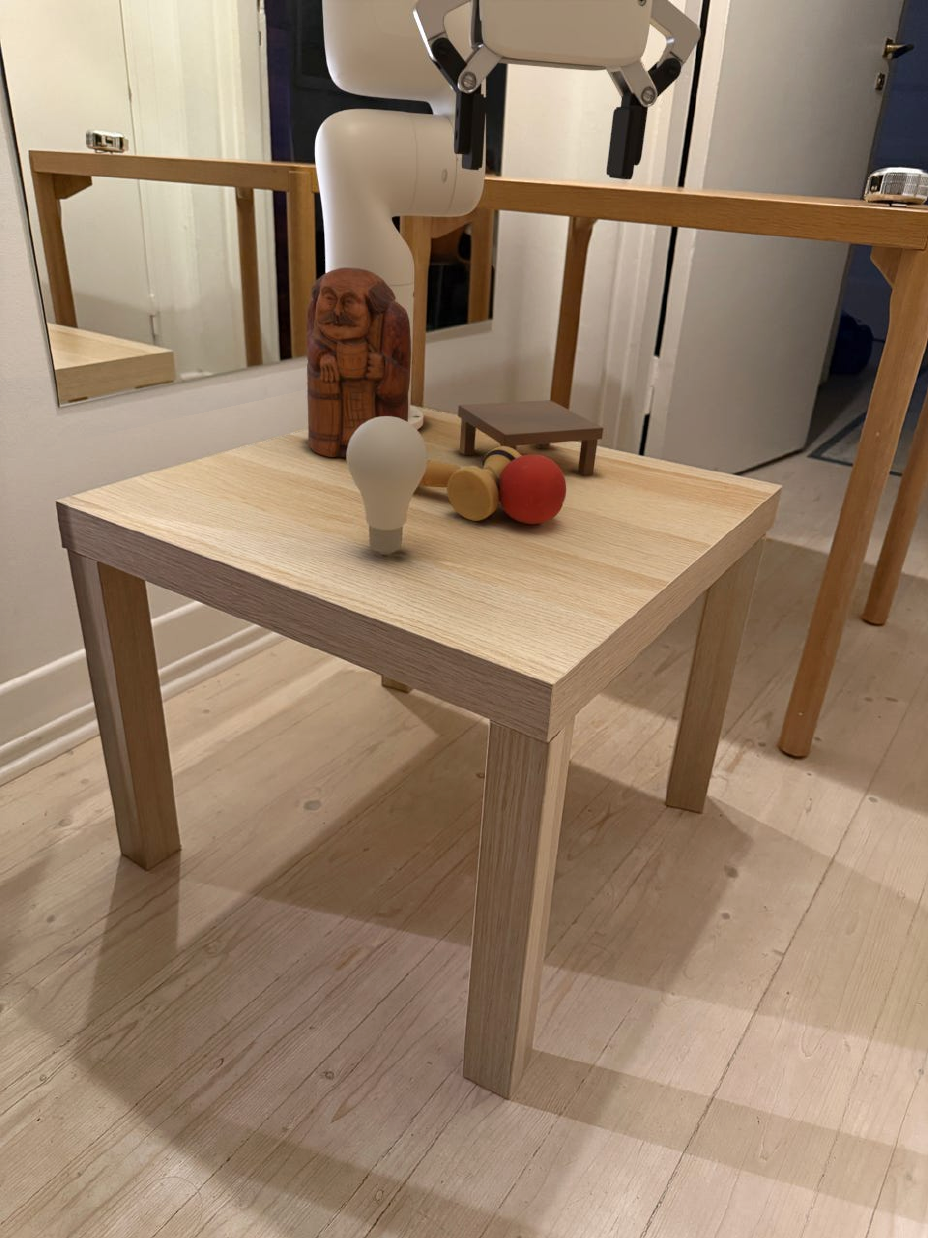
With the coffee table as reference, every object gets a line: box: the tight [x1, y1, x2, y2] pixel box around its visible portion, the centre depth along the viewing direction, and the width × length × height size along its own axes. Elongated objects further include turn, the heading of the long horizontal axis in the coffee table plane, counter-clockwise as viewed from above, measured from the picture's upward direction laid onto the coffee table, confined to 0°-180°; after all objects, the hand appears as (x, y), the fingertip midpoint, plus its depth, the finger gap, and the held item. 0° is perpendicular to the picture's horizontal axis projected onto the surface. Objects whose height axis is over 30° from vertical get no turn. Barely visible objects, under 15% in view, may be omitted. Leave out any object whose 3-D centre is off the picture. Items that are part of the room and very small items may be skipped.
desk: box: [457, 399, 604, 476], centre depth 94 cm, size 11×11×5 cm
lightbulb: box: [346, 416, 429, 556], centre depth 70 cm, size 6×6×11 cm
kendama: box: [418, 446, 567, 525], centre depth 82 cm, size 8×6×18 cm
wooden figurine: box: [305, 268, 411, 460], centre depth 91 cm, size 12×6×18 cm, turn 75°
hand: (546, 173), depth 57 cm, fingers open, 9 cm apart
